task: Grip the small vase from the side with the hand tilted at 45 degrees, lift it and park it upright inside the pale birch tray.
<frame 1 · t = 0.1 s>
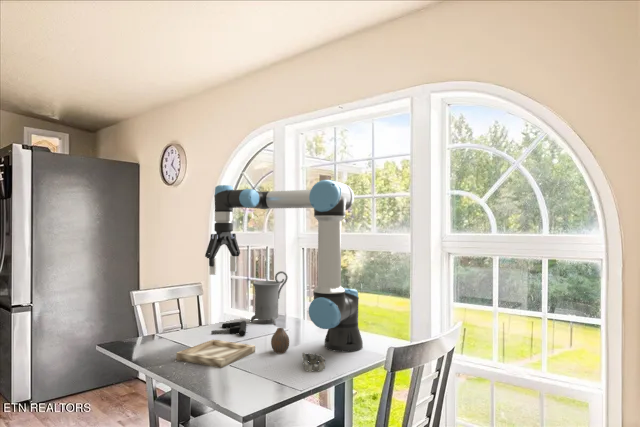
hand: (223, 273, 183), 28 cm above the table, tool pointing down, fingers open, 13 cm apart
tray: (216, 355, 160), on the table
vase: (280, 352, 166), on the table
door handle: (230, 332, 197), on the table
mug: (268, 322, 216), on the table
egg carton: (313, 367, 149), on the table
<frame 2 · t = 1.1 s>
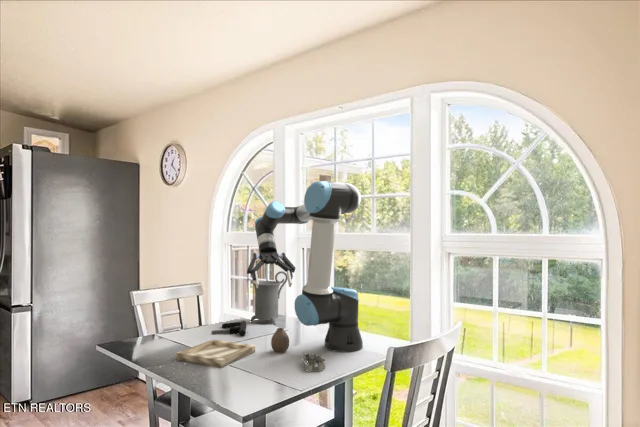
hand: (274, 285, 177), 24 cm above the table, tool tilted 45°, fingers open, 13 cm apart
nothing on the table moved.
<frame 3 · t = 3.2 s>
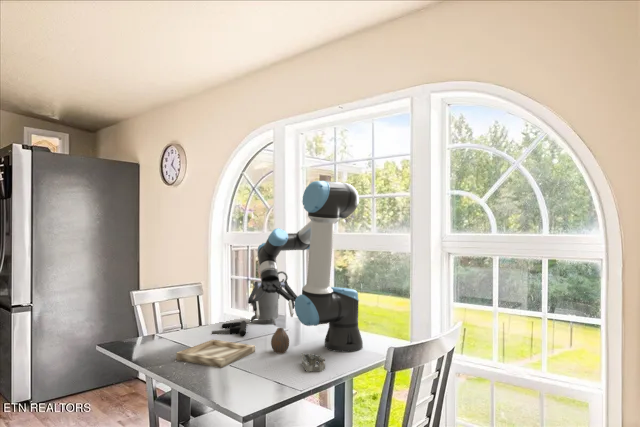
hand: (275, 316, 174), 12 cm above the table, tool tilted 45°, fingers open, 13 cm apart
nothing on the table moved.
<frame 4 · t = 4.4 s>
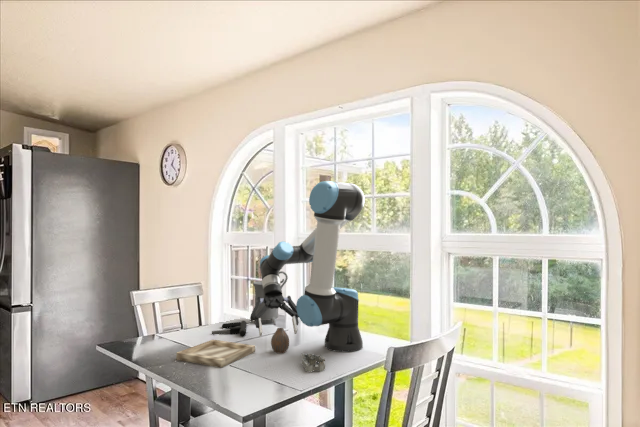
hand: (278, 333, 167), 7 cm above the table, tool tilted 45°, fingers open, 13 cm apart
nothing on the table moved.
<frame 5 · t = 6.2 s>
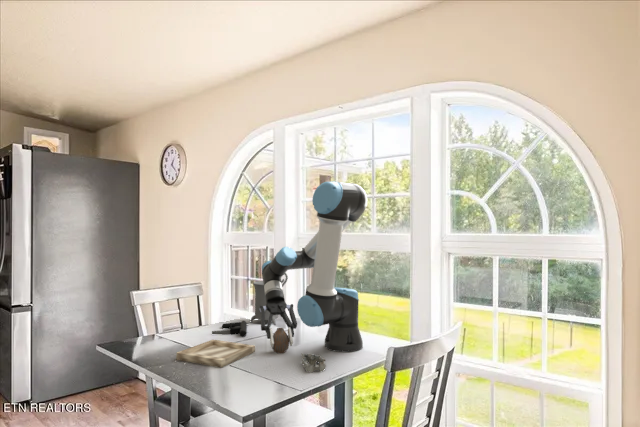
hand: (282, 344, 163), 3 cm above the table, tool tilted 45°, fingers closed on vase, 6 cm apart
vase: (280, 352, 166), on the table, touching gripper
everything else where it was.
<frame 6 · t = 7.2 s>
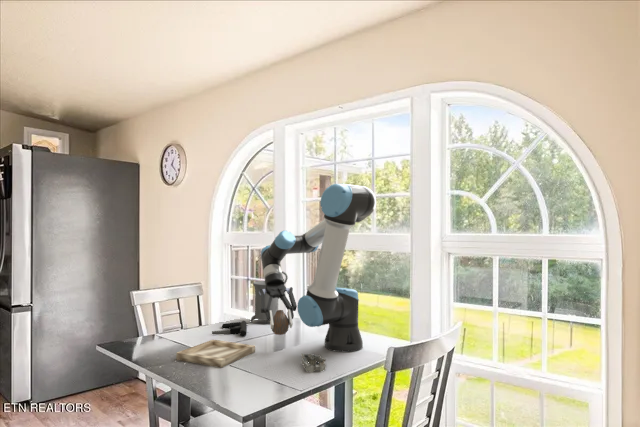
hand: (281, 326, 163), 10 cm above the table, tool tilted 45°, fingers closed on vase, 6 cm apart
vase: (280, 334, 166), point 7 cm above the table, touching gripper
everything else where it was.
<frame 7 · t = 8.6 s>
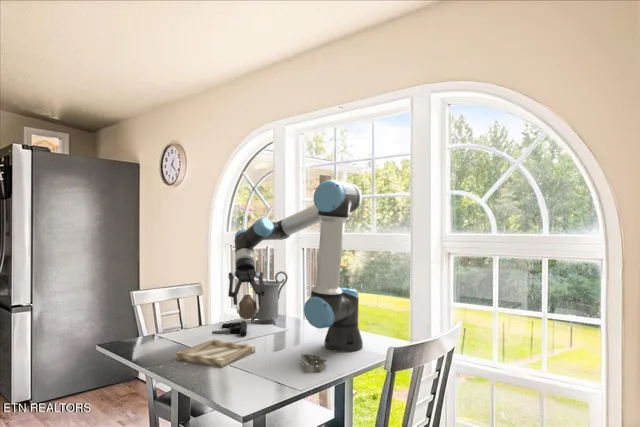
hand: (247, 311, 163), 16 cm above the table, tool tilted 45°, fingers closed on vase, 6 cm apart
vase: (246, 318, 166), point 12 cm above the table, touching gripper
everything else where it was.
when the fingers open (6 cm above the table, at t = 11.7 s): vase drops 1 cm, resting on tray.
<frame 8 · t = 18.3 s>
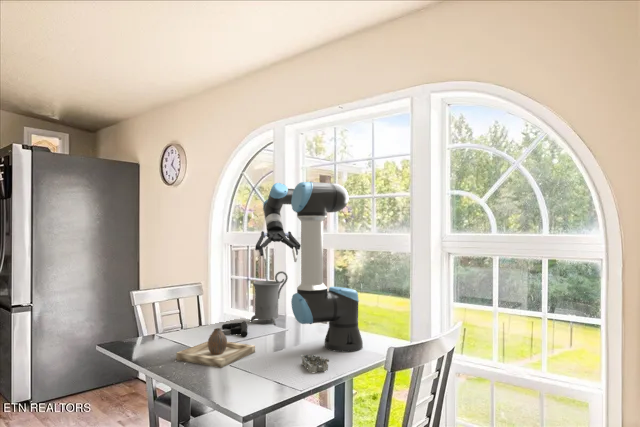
hand: (280, 260, 189), 33 cm above the table, tool tilted 45°, fingers open, 13 cm apart
vase: (217, 353, 160), point 1 cm above the table, touching tray
at the end: vase inside the target area on the tray (0.2 cm from its centre), point 0.8 cm above the tray's base; vase tilted 0°; the gripper is holding nothing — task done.
